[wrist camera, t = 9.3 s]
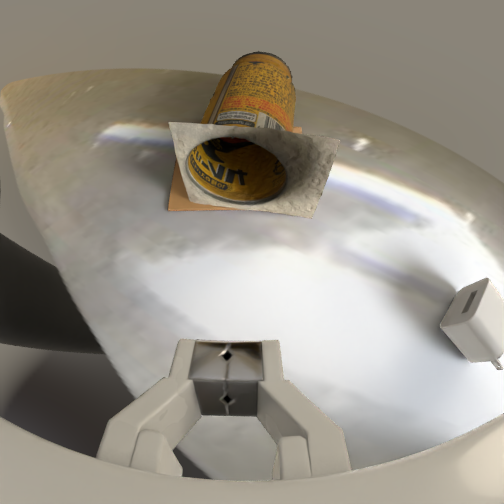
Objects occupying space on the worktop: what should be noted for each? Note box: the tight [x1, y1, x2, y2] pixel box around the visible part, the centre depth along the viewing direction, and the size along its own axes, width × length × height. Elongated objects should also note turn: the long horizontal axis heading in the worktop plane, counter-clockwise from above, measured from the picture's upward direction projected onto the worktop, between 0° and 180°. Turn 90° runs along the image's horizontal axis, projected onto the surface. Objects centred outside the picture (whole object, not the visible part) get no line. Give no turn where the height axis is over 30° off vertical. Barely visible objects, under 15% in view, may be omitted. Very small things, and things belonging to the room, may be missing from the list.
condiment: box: [168, 52, 340, 219], centre depth 18 cm, size 7×8×12 cm
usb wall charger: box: [440, 278, 504, 370], centre depth 14 cm, size 4×7×4 cm, turn 44°
